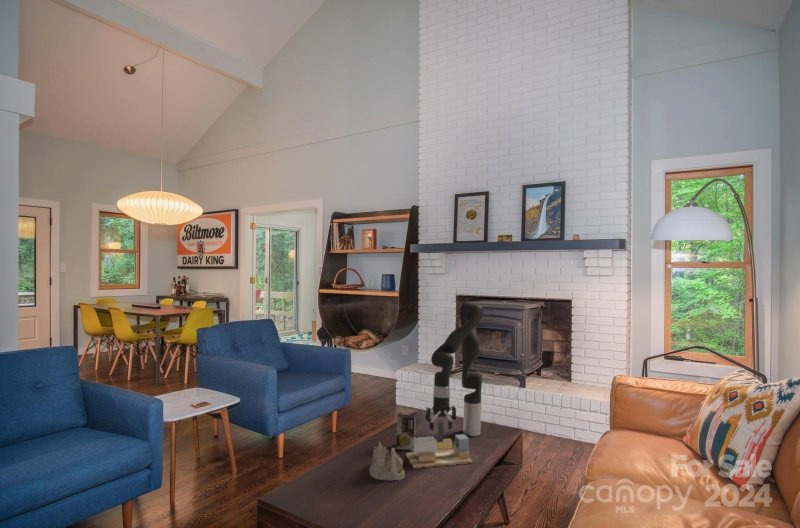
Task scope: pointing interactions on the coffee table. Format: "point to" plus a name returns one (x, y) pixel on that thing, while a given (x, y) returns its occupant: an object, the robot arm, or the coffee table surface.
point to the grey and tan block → (424, 449)
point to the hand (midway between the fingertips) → (440, 429)
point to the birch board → (439, 459)
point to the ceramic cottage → (386, 464)
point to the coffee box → (405, 430)
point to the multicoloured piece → (440, 441)
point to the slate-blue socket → (462, 446)
